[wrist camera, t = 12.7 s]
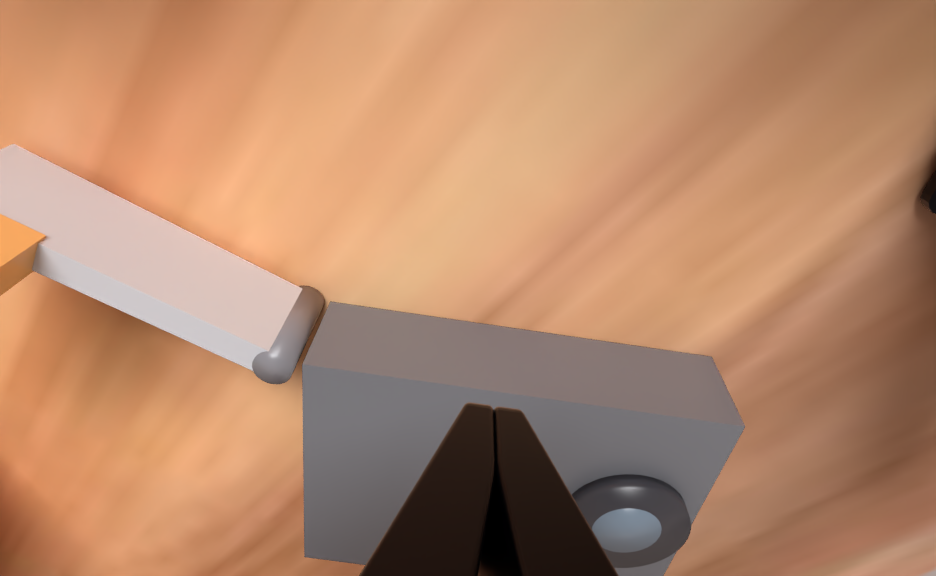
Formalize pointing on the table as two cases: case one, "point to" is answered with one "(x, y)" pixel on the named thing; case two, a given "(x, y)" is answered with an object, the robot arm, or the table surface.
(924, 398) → the table surface
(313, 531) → the box with round button
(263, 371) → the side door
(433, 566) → the robot arm
